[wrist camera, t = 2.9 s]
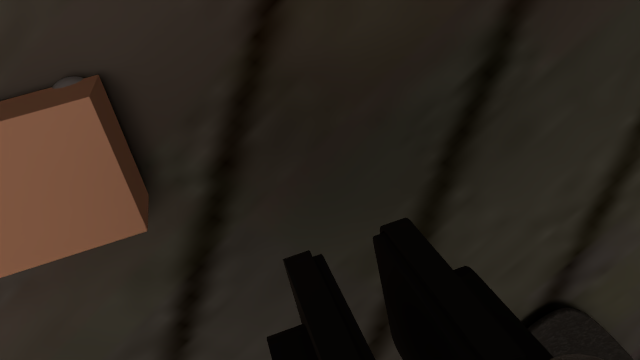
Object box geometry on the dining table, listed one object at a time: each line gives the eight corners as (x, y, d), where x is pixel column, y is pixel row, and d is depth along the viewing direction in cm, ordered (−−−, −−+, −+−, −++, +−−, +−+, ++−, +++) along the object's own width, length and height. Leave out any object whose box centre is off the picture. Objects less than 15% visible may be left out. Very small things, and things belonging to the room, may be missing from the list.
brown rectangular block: (99, 64, 22) (87, 91, 18) (150, 189, 25) (149, 235, 21) (-109, 119, 21) (-167, 161, 17) (-30, 244, 23) (-65, 303, 20)
